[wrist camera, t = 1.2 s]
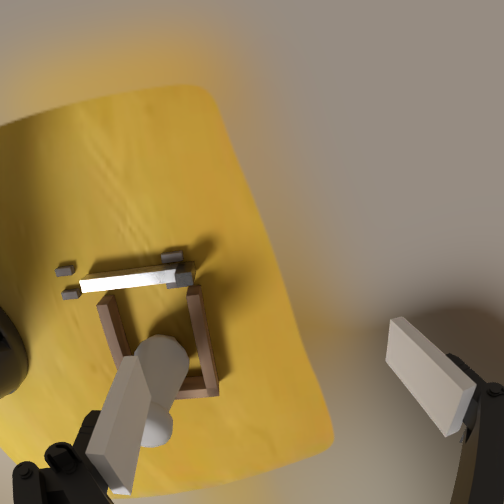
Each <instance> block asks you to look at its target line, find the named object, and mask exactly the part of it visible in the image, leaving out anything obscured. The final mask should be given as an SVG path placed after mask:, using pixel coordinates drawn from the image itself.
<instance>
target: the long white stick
mask: <svg viewBox="0 0 504 504" xmlns="http://www.w3.org/2000/svg"><path fill="white" fill-rule="evenodd" d="M195 275H196V269H195V263H194V261H188V262H180V263H172V264H165V265H157V266H149V267H141V268H133V269H125V270H118V271H110V272H102V273H94V274H87V275H86V276H84V277H83V278H82V279H81V280H80V285H81V289H82V292H91V291H101V290H110V289H119V288H128V287H136V286H145V285H154V284H162V283H171V282H176V286H177V287H181V286H190V285H194V280H195Z"/></svg>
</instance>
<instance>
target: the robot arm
mask: <svg viewBox="0 0 504 504" xmlns="http://www.w3.org/2000/svg"><path fill="white" fill-rule="evenodd" d="M386 362H387V363H388V365H389V366H390V367H391V368H392V370H393V371H394V372H395V373H396V374H397V376H398V377H399V378H400V380H401V381H402V382H403V383H404V385H405V386H406V387H407V388H408V390H409V391H410V392H411V393H412V395H413V396H414V397H415V398H416V400H417V401H418V402H419V403H420V405H421V406H422V407H423V409H424V410H425V411H426V412H427V414H428V415H429V416H430V418H431V419H432V420H433V421H434V423H435V424H436V425H437V427H438V428H439V429H440V431H441V432H442V433H443V434H444V436H445V437H447V436H449V435H451V434H453V433H455V432H457V431H459V429H460V427H461V424H462V422H464V423H465V425H466V426H467V427H466V429H465V431H464V433H463V436H462V438H461V440H460V443H461V442H462V441H463V445H462V451H461V457H460V462H459V467H458V472H457V477H456V481H455V486H454V490H453V494H452V498H451V502H450V504H503V502H504V386H502V385H501V384H499V383H494V382H493V383H486V382H485V381H484V380H483V379H482V378H481V377H479V375H477V374H476V373H475V372H474V371H473V370H472V369H470V367H468V365H466V364H465V363H464V362H463V361H462V360H461V359H460V358H459V357H457V356H455V355H452V354H450V353H449V354H446V355H445V354H444V353H442V352H441V351H440V350H439V349H438V348H437V347H436V346H435V345H434V344H433V343H431V342H430V341H429V340H428V339H427V338H426V337H425V336H424V335H423V334H421V333H420V332H419V331H418V330H417V329H416V328H415V327H413V326H412V325H411V324H410V323H409V322H408V321H407V320H406V319H405V318H403V317H398V318H394V319H390V329H389V338H388V347H387V355H386ZM27 370H28V362H27V355H26V351H25V348H24V345H23V342H22V340H21V338H20V336H19V334H18V332H17V330H16V328H15V326H14V325H13V323H12V322H11V320H10V319H9V317H8V316H7V315H6V313H5V312H4V311H3V310H2V309H1V308H0V399H1V398H3V397H4V396H6V395H9V394H11V393H13V392H14V391H16V390H17V389H18V387H19V386H20V385H21V383H22V382H23V381H24V379H25V377H26V375H27ZM150 401H151V394H150V391H149V388H148V386H147V383H146V380H145V377H144V374H143V371H142V368H141V365H140V361H139V358H138V356H124V357H123V360H122V362H121V364H120V366H119V369H118V371H117V373H116V376H115V378H114V381H113V383H112V385H111V388H110V390H109V393H108V395H107V398H106V400H105V403H104V405H103V408H102V410H101V411H99V410H92V411H91V412H90V413H89V414H88V415H87V416H86V417H85V418H84V420H83V423H82V425H81V426H82V427H80V430H79V434H78V435H77V437H76V439H75V442H74V444H73V447H72V446H71V444H69V443H66V442H58V443H54V444H53V445H51V446H49V448H48V449H47V450H46V452H45V455H44V457H45V461H46V462H47V463H48V465H49V466H50V467H51V468H43V469H39V468H38V467H37V466H36V465H35V464H34V463H33V462H30V461H24V462H21V463H19V464H18V465H17V466H16V467H15V468H14V470H13V475H12V478H13V500H14V504H114V503H113V502H112V500H111V499H110V498H109V496H108V495H107V490H108V487H109V488H110V489H111V491H112V492H113V493H114V494H124V495H131V492H132V486H133V481H134V476H135V471H136V466H137V461H138V456H139V451H140V446H141V441H142V437H143V432H144V427H145V423H146V418H147V414H148V410H149V405H150Z"/></svg>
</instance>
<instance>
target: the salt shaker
mask: <svg viewBox="0 0 504 504" xmlns="http://www.w3.org/2000/svg"><path fill="white" fill-rule="evenodd" d="M134 356H138V358H139V361H140V365H141V368H142V371H143V374H144V377H145V380H146V383H147V386H148V388H149V391H150V394H151V401H150V405H149V410H148V414H147V418H146V423H145V427H144V432H143V437H142V441H141V446H143V447H157V446H160V445H163V444H166V442H167V441H168V440H169V439H170V437H171V435H172V428H173V419H172V417H171V415H170V414H169V410H170V408H171V406H172V404H173V402H174V400H175V398H176V395H177V393H178V391H179V389H180V387H181V385H182V383H183V381H184V379H185V377H186V375H187V373H188V369H189V357H188V355H187V353H186V351H185V349H184V348H183V347H182V346H181V345H180V344H179V343H178V342H177V340H176V339H175V338H174V337H172V336H166V335H160V334H156V335H154V336H152V337H150V338H148V339H146V340H144V341H142V342H141V343H140V345H139V346H138V348H137V349H136V351H135V352H134Z"/></svg>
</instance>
